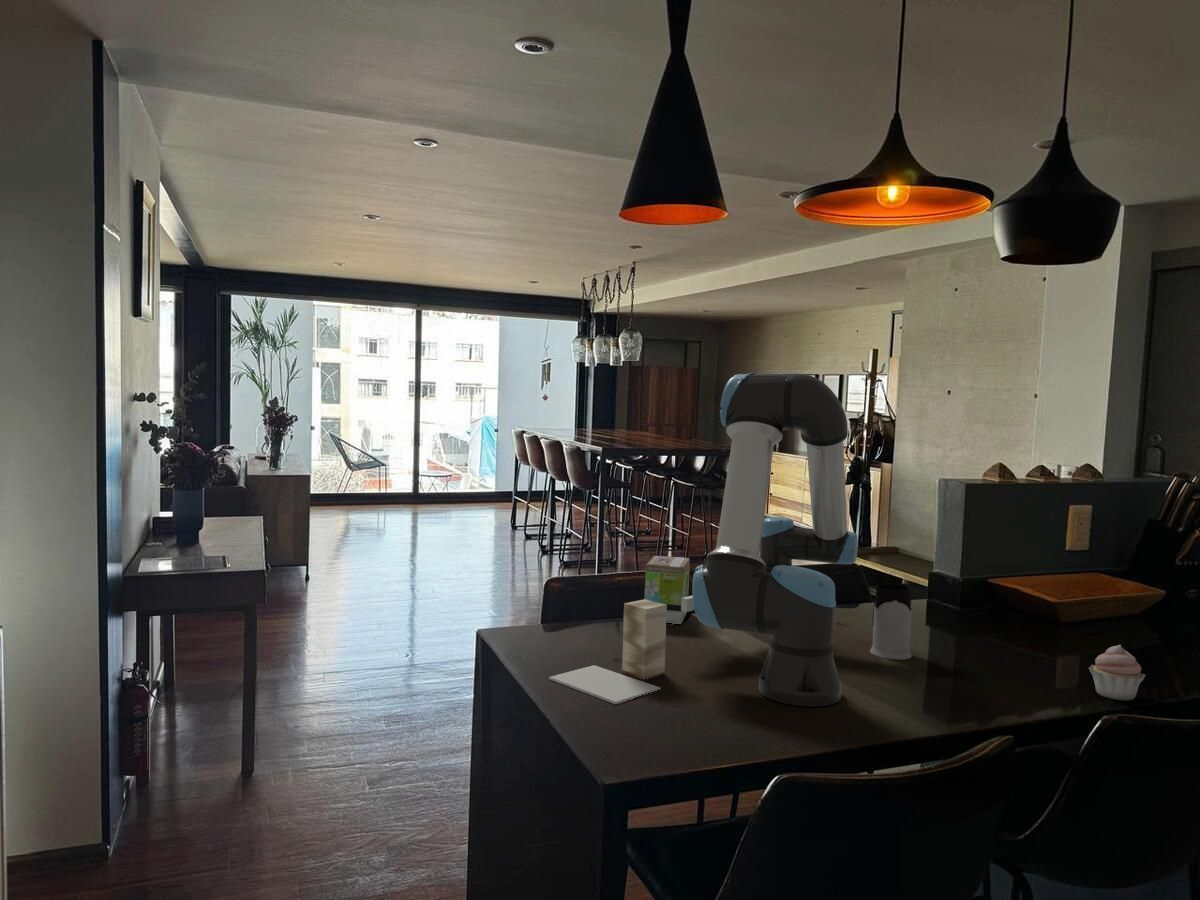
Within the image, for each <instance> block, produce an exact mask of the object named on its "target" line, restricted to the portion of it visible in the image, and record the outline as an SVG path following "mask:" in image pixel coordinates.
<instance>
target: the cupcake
mask: <svg viewBox="0 0 1200 900" xmlns="http://www.w3.org/2000/svg"><path fill="white" fill-rule="evenodd" d="M1094 662H1095V664H1091V665H1090V666H1089V667H1088V670H1089V672H1090V673H1091V675H1092V678H1093V682H1094V686H1095V691H1096V694H1098V695H1099V696H1102V697H1104V698H1108V699H1110V700H1117V701H1133V700H1135V698H1136V696H1137V693H1138V691H1139V690H1138V689H1139V686H1140V684H1141V683H1142V681H1144V679H1145V677H1146V674H1145V673H1141V671H1142V667H1141V664H1139V662H1137V659H1136V657H1135V656H1133V655H1132V654H1131V653H1129V651H1127V650H1125V648H1123V647H1122V645H1121V644H1118V645H1114V646H1111V647H1108V648H1107V649H1106V650H1105V652H1104V653H1101V654H1099V655H1097V657H1096V658H1095V659H1094Z"/></svg>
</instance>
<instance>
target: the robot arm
mask: <svg viewBox="0 0 1200 900" xmlns="http://www.w3.org/2000/svg"><path fill="white" fill-rule="evenodd" d="M719 405H720V411H719V417H720V423H721V425H722V426H723V427H724V428H726V430H725V432H726V434H727V435H728V438H730V439H731V446H730V452H729V457H728V458H729V460H728V466H727V472H726V479H725V486H724V491H723V498H722V506H721V513H720V520H719V524H718V531H717V539H716V546H715V549H713V550H712V551H710V552H709V553H708V554H707V555H706V559H705V564H701V565H698V566H696V567H695V568H694V572H693V575H692V576H693V577H692V585H691V586H692V587H691V588H692V589H691V590H692V593H691V594H692V595H688V597H683V598H682V599H681V611H685V612H692V611H694V612H695V615H696V616H695V617H697V620H698V621H699V622H700V623H701V624H702V625H704V626H706V627H707V626H708V627H712V628H717V629H719V630H724V629H727V630H734V631H742V632H748V633H753V634H754V633H755V634H763V635H768V636H769V647H768V649H769V650H768V653H767V655H766V659H765V660H764V663H763V666H762V669H761V671H760V674H759V676H758V677H759V678H758V691H759V693H760V694H761V695H762V696H763V697H766V698H767V699H769V700H772V701H775V702H778V703H781V704H786V705H790V706H798V707H810V708H811V707H813V708H815V707H825V706H826V707H827V706H831V705H834V704H836V703H838V702H840V700H841V699H842V684H841V681H840V677H839V673H838V670H837V667H836V663H835V659H834V641H835V639H834V638H835V636H834V634H835V632H834V631H835V614H836V613H835V611H836V610H835V609H836V606H837V601H836V585H835V582H834V580H832V578H831V577H829V576H828V575H826V574H824V573H823V572H820V571H817V570H813V569H811V568H807V567H801V566H796V565H793V560H794V561H807V562H808V561H809V562H818V563H824V564H827V563H828V564H833V565H853V564H855V563H856V560H857V557H858V549H859V537H858V534H857V532H854V531H851V530H848V516H847V513H848V512H847V494H846V493H847V492H846V473H845V472H846V471H845V455H844V454H845V453H844V452H845V451H844V442H845V441H846V440H847V438H848V436H849V435H848V434H849V430H848V429H849V427H848V425H849V424H848V419H847V415H846V412H845V410H844V409H845V408H844V407H843V405H842V403H841V401H840V400H839V397H837V395H836V394H835V392H834V391H833V390H832V389H831V388H830V387H829V386H828V385H827V384H826V383H824V382H823V381H822V380H820V379H819V378H817V377H815V376H812V375H809V374H808V373H807V374H806V373H755V372H749V373H739V374H738V373H736V374H734V375H733V376H732V377H731V378H729V380H727V382H726V384H725V386H724V389H723V391H722V395H721V399H720V404H719ZM786 430H787V431H788V430H789V431H795V430H796V431H800V438H801V440H802V441H803V442H804V443H805V444H806V454H807V455H806V456H807V469H808V470H807V471H808V480H809V483H808V484H809V494H810V495H809V496H810V508H811V518H812V520H811V521H812V528H808V527H807V528H806V527H797V526H795V524H794V519H791V518H789V517H783V516H782V517H781V516H768V517H765V514H766V507H767V506H766V505H767V498H768V492H769V484H770V476H771V471H772V470H771V468H772V461H773V454H774V452H773V451H774V446H775V445H776V444H778V443H779V442H781V441H782V440H783V434H784V431H786Z"/></svg>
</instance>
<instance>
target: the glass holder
mask: <svg viewBox="0 0 1200 900" xmlns="http://www.w3.org/2000/svg"><path fill="white" fill-rule="evenodd" d="M874 601H875V602H874V607H873V626H872V627H873V630H872V645H871V648H870V650H869V652H870V653H871V654H872V655H874V656H876V657H879V658H883V659H889V660H908V659H911V658H912V653H911V632H912V630H911V627H912V611H913V610H912V587H911V586H908V585H904V584H899V583H878V584H876V585H875V599H874Z"/></svg>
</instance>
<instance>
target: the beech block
mask: <svg viewBox="0 0 1200 900" xmlns="http://www.w3.org/2000/svg"><path fill="white" fill-rule="evenodd" d="M623 605H624V606H623V631H622V663H621V664H622V665H621V666H622V667H621V674H623V675H626V676H629V677H632V676H633V677H632V678H635V677H637V678H636V679H638V678H640V680H641V679H643V680H642V681H646V680H645V679H647V680H649V679H648V678H651V679H653V678H652V677H654V678H656V677H655V676H657V677H659V676H658V675H661V676H663V675H662V674H664V675H665V674H666V671H665V669H666V668H665V667H666V639H667V636H666V634H667V624H666V614H667V605H666V604H661V603H657V602H653V601H649V600H645V599H644V598H643V599H639V600H635V601H629V602H624V603H623Z"/></svg>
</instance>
